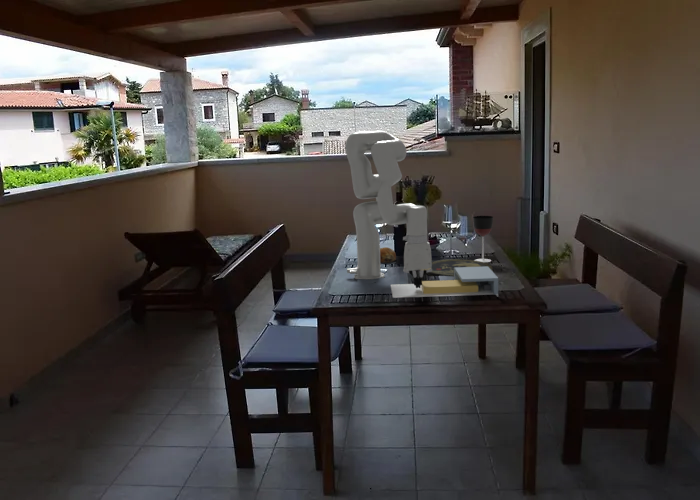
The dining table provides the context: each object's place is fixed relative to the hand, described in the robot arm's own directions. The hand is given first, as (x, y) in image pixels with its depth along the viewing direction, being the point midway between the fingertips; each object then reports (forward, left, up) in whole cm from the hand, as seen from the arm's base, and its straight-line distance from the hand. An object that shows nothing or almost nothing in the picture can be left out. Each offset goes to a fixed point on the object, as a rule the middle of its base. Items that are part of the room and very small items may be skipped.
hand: (417, 287), depth 228 cm
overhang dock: (+9, 0, -2) cm, 9 cm away
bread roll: (-10, +56, -3) cm, 57 cm away
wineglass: (+34, +49, -2) cm, 60 cm away
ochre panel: (+12, -1, -1) cm, 12 cm away
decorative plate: (+20, +33, -3) cm, 39 cm away
